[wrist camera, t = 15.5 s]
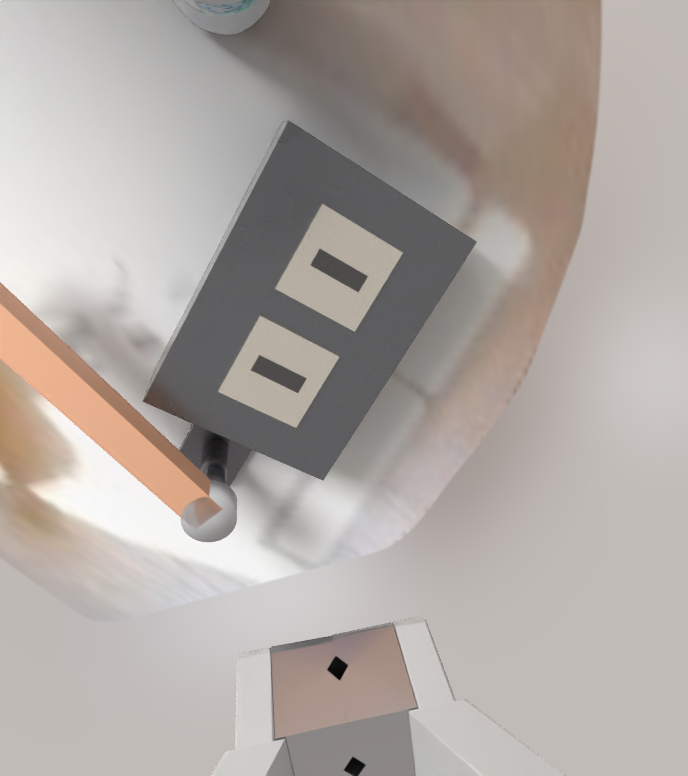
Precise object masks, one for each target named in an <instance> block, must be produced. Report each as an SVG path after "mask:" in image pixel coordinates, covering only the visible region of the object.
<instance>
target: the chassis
mask: <svg viewBox="0 0 688 776" xmlns="http://www.w3.org/2000/svg"><path fill="white" fill-rule="evenodd" d="M475 244H476V241H474V240H473V239H471V238H470V237H468V236H467V235H465V234H464V233H462V232H460V231H459V230H457V229H456V228H454V227H453V226H451V225H450V224H448V223H447V222H445V221H443V220H442V219H440V218H439V217H437V216H436V215H434V214H433V213H431V212H429V211H428V210H426V209H425V208H423V207H422V206H420V205H419V204H417V203H416V202H414V201H412V200H411V199H409V198H408V197H406V196H405V195H403V194H402V193H400V192H398V191H397V190H395V189H394V188H392V187H391V186H389V185H388V184H386V183H384V182H383V181H381V180H380V179H378V178H377V177H375V176H374V175H372V174H371V173H369V172H367V171H366V170H364V169H363V168H361V167H360V166H358V165H357V164H355V163H353V162H352V161H350V160H349V159H347V158H346V157H344V156H343V155H341V154H340V153H338V152H336V151H335V150H333V149H332V148H330V147H329V146H327V145H326V144H324V143H322V142H321V141H319V140H318V139H316V138H315V137H313V136H312V135H310V134H309V133H307V132H305V131H304V130H302V129H301V128H299V127H298V126H296V125H295V124H293V123H291V122H290V121H284V122H282V124H281V126H280V128H279V130H278V132H277V134H276V136H275V138H274V140H273V142H272V144H271V146H270V147H269V149H268V151H267V153H266V155H265V157H264V159H263V161H262V163H261V165H260V167H259V169H258V171H257V173H256V175H255V177H254V178H253V180H252V182H251V184H250V186H249V188H248V190H247V192H246V194H245V196H244V198H243V200H242V202H241V204H240V206H239V208H238V209H237V211H236V213H235V215H234V217H233V219H232V221H231V223H230V225H229V227H228V229H227V231H226V233H225V235H224V237H223V238H222V240H221V242H220V244H219V246H218V248H217V250H216V252H215V254H214V256H213V258H212V260H211V262H210V264H209V266H208V268H207V269H206V271H205V273H204V275H203V277H202V279H201V281H200V283H199V285H198V287H197V289H196V291H195V293H194V295H193V297H192V299H191V300H190V302H189V304H188V306H187V308H186V310H185V312H184V314H183V316H182V318H181V320H180V322H179V324H178V326H177V328H176V329H175V331H174V333H173V335H172V337H171V339H170V341H169V343H168V345H167V347H166V349H165V351H164V353H163V355H162V357H161V359H160V360H159V362H158V364H157V366H156V368H155V371H154V373H153V376H152V378H151V381H150V384H149V386H148V389H147V392H146V394H145V397H144V399H143V402H145V403H147V404H150V405H152V406H154V407H157V408H159V409H161V410H163V411H166V412H168V413H170V414H172V415H175V416H177V417H179V418H182V419H184V420H186V421H188V422H191V423H193V424H195V425H198V426H200V427H202V428H204V429H207V430H209V431H211V432H214V433H216V434H218V435H220V436H223V437H225V438H227V439H230V440H232V441H234V442H236V443H239V444H241V445H243V446H246V447H248V448H250V449H252V450H255V451H257V452H259V453H262V454H264V455H266V456H268V457H271V458H273V459H275V460H278V461H280V462H282V463H284V464H287V465H289V466H291V467H294V468H296V469H298V470H300V471H303V472H305V473H307V474H309V475H312V476H314V477H316V478H319V479H321V480H324V478H325V477H326V475H327V474H328V472H329V471H330V469H331V467H332V466H333V464H334V463H335V461H336V460H337V458H338V457H339V455H340V454H341V452H342V450H343V449H344V447H345V446H346V444H347V443H348V441H349V440H350V438H351V436H352V435H353V433H354V432H355V430H356V429H357V427H358V426H359V424H360V422H361V421H362V419H363V418H364V416H365V415H366V413H367V412H368V410H369V408H370V407H371V405H372V404H373V402H374V401H375V399H376V398H377V396H378V394H379V393H380V391H381V390H382V388H383V387H384V385H385V384H386V382H387V381H388V379H389V377H390V376H391V374H392V373H393V371H394V370H395V368H396V367H397V365H398V363H399V362H400V360H401V359H402V357H403V356H404V354H405V353H406V351H407V349H408V348H409V346H410V345H411V343H412V342H413V340H414V339H415V337H416V335H417V334H418V332H419V331H420V329H421V328H422V326H423V325H424V323H425V321H426V320H427V318H428V317H429V315H430V314H431V312H432V311H433V309H434V307H435V306H436V304H437V303H438V301H439V300H440V298H441V297H442V295H443V294H444V292H445V290H446V289H447V287H448V286H449V284H450V283H451V281H452V280H453V278H454V276H455V275H456V273H457V272H458V270H459V269H460V267H461V266H462V264H463V262H464V261H465V259H466V258H467V256H468V255H469V253H470V252H471V250H472V248H473V247H474V245H475Z"/></svg>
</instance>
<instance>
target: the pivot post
mask: <svg viewBox="0 0 688 776" xmlns="http://www.w3.org/2000/svg"><path fill="white" fill-rule="evenodd" d="M179 451H180V452H181V453H182V454H183V455H184V456H185V457H186V458H188V459H189V460H190V461H191V462H192V463H193V464H194V465H195V466H196V467H197V468H198V469H199V470H200V471H201V472H202V473H203V474H205V475H206V476H207V477H208V478H209V479H210V480H215V481H220V482H223V483H225V484H226V485H228V486H229V487H230V485H231V483H232V481H233V480H234V478H235V476H236V475H237V473H238V471H239V470H240V468H241V466H242V465H243V463H244V461H245V460H246V458H247V456H248V454H249V453H250V451H251V449H250V448H248V447H246V446H243V445H241V444H239V443H236V442H234V441H232V440H230V439H227V438H225V437H223V436H220V435H218V434H216V433H214V432H211V431H209V430H207V429H204V428H202V427H200V426H198V425H195V424H193V425H192V427H191V429H190V431H189V432H188V434H187V436H186V438H185V440H184V441H183V443H182V445H181V447H180V449H179Z"/></svg>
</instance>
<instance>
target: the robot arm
mask: <svg viewBox="0 0 688 776" xmlns="http://www.w3.org/2000/svg"><path fill="white" fill-rule="evenodd" d="M236 695H237V696H236V745H235V748H236V749H235V750H231V751H227V752H225V753H224V755H223V757H222V758H221V760H220V762H219V763H218V765H217V767H216V768H215V769H214V771H213V773H212V774H211V776H566V775H564V774H563V773H562V772H560V771H559V770H558V769H556V768H555V767H554V766H552V765H551V764H550V763H549V762H547V761H546V760H545V759H543V758H542V757H540V756H539V755H538V754H537V753H535V752H534V751H533V750H531V749H530V748H529V747H528V746H526V745H525V744H524V743H522V742H521V741H520V740H518V739H517V738H516V737H515V736H513V735H512V734H511V733H509V732H508V731H506V730H505V729H504V728H502V727H501V726H500V725H499V724H497V723H496V722H495V721H493V720H492V719H491V718H490V717H488V716H487V715H486V714H484V713H483V712H482V711H480V710H479V709H478V708H476V707H475V706H474V705H473V704H471V703H470V702H469V701H467V700H466V699H462V700H455V697H454V695H453V692H452V689H451V687H450V684H449V681H448V678H447V676H446V673H445V670H444V668H443V665H442V662H441V659H440V657H439V654H438V651H437V649H436V646H435V644H434V641H433V638H432V635H431V633H430V630H429V627H428V624H427V622H426V619H424V617H423V616H418V617H413V618H408V619H404V620H400V621H395V622H393V623H391V622H390V623H385V624H381V625H376V626H371V627H367V628H362V629H358V630H353V631H349V632H344V633H340V634H335V635H332V636H328V637H323V638H317V639H312V640H306V641H301V642H295V643H290V644H284V645H278V646H273V647H271V648H266V649H261V650H255V651H249V652H243V653H240V654H239V657H238V661H237V694H236Z"/></svg>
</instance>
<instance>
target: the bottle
mask: <svg viewBox="0 0 688 776" xmlns="http://www.w3.org/2000/svg"><path fill="white" fill-rule="evenodd" d="M173 1H174V2H175V4H176V5H177V7H178V8H179V9H180V11H181V12H182V13H183V14H184V15H185V16H186V17H187V18H188V19H189V20H190V21H191V22H192V23H193V24H194V25H196V26H198V27H199V28H201V29H204V30H207V31H209V32H212V33H217V34H224V35H233V34H237V33H240V32H242V31H244V30H246V29H247V28H249V27H251V26H252V25H253V24H254V23H255V22H257V21H258V20H259V19H260V18H261V17H262V15H263V14H264V13H265V11H266V10H267V8H268V6H269V3H270V0H173Z"/></svg>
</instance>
